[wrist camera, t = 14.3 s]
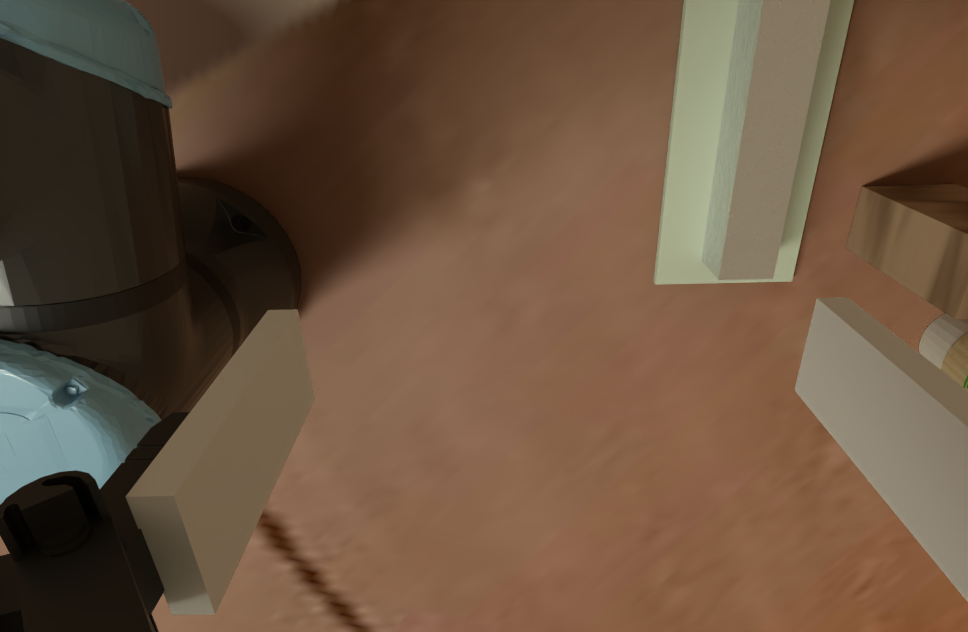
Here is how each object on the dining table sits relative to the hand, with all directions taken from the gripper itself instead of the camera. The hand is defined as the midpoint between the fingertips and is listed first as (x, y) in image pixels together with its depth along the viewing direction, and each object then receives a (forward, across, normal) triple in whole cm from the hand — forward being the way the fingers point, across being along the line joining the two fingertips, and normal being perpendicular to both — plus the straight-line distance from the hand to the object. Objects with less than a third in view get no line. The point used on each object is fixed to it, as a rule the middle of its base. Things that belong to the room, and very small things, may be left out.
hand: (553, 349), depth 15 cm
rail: (+31, +17, +2) cm, 35 cm away
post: (+32, +30, -7) cm, 44 cm away
